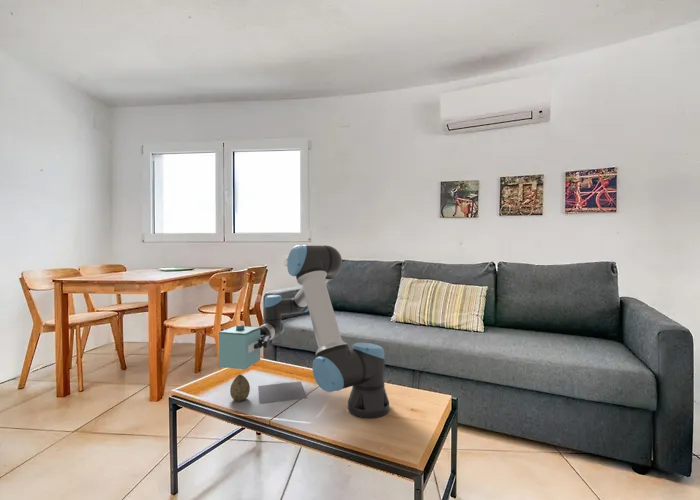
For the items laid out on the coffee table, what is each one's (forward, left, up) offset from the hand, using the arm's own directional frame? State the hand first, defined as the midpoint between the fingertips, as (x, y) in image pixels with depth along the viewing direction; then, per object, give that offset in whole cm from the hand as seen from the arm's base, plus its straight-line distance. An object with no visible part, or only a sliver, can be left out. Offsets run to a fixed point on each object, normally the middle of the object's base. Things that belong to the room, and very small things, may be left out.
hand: (234, 348), depth 127 cm
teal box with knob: (+4, -2, -7) cm, 8 cm away
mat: (+6, -18, -21) cm, 29 cm away
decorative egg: (+3, -2, -21) cm, 22 cm away
